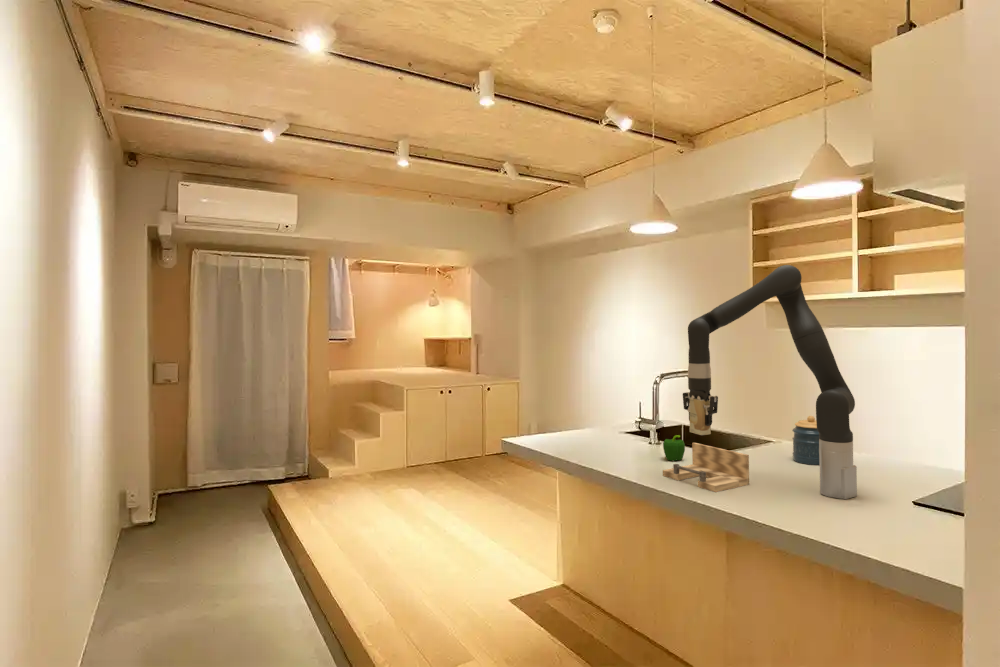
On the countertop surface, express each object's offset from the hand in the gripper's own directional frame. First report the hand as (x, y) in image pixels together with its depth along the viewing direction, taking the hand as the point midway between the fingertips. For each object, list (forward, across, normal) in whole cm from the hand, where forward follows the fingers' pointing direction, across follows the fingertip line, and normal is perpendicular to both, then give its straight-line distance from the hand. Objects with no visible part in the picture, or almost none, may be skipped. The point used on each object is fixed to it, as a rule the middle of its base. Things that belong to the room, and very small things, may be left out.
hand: (700, 423), depth 202 cm
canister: (+20, -4, -55) cm, 58 cm away
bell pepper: (+20, +27, -14) cm, 36 cm away
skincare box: (+3, 0, 0) cm, 3 cm away
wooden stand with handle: (+20, 0, -2) cm, 20 cm away
